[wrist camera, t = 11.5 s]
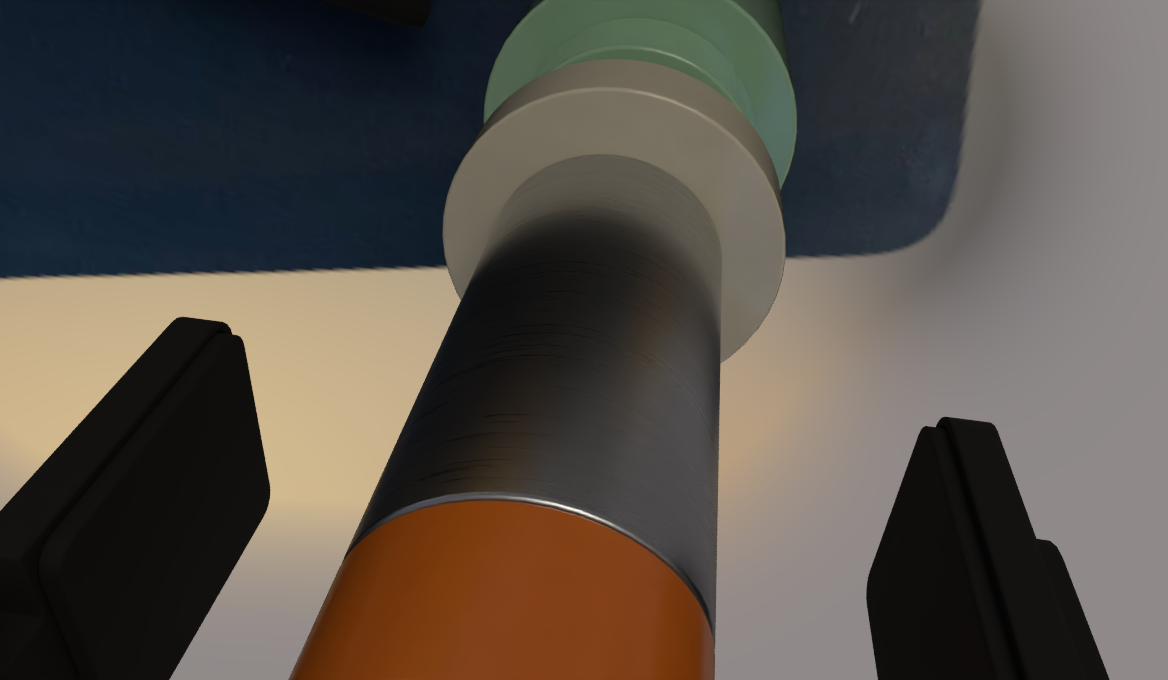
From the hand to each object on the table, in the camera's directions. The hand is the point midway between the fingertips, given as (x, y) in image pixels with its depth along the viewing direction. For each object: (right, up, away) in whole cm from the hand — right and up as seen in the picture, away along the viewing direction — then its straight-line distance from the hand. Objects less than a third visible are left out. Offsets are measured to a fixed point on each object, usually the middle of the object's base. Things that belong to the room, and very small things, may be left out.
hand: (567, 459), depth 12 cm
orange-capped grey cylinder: (+1, +3, +4) cm, 5 cm away
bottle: (+3, +13, +19) cm, 23 cm away
